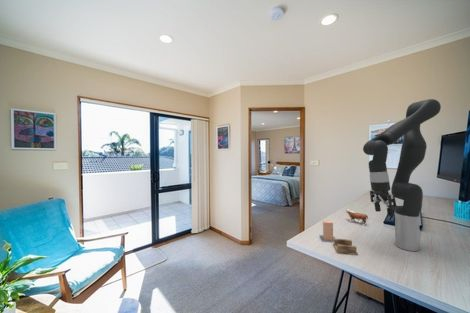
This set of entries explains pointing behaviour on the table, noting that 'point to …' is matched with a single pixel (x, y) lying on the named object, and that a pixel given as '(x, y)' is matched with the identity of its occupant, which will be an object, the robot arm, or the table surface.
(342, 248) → the slotted rack
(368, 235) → the table surface
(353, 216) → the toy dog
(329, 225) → the tall salmon pink block
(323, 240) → the rubber mat
